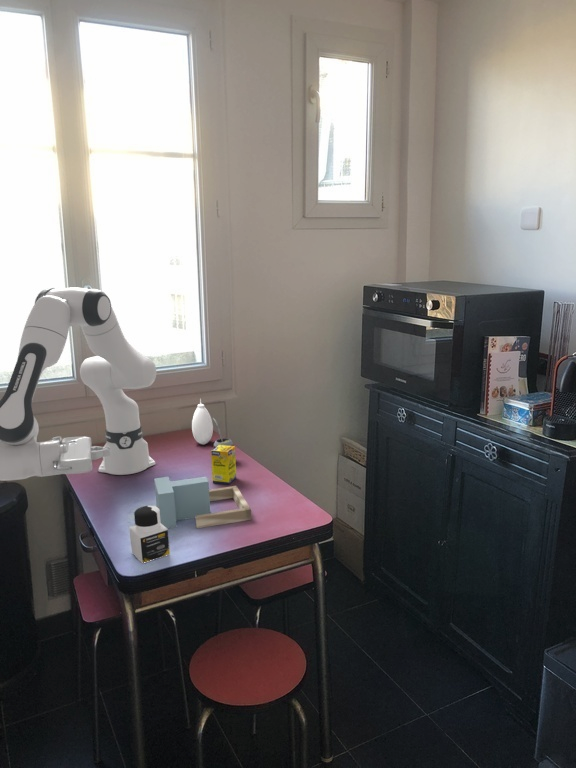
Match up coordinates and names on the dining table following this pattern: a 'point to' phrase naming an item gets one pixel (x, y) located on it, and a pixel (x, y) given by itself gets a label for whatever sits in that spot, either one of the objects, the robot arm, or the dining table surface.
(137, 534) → the medicine bottle
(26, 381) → the robot arm
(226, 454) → the supplement box
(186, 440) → the dining table surface
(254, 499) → the dining table surface
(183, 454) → the dining table surface
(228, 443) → the mate gourd
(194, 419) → the white bulb air blower
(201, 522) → the frame
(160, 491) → the blue block with tab
